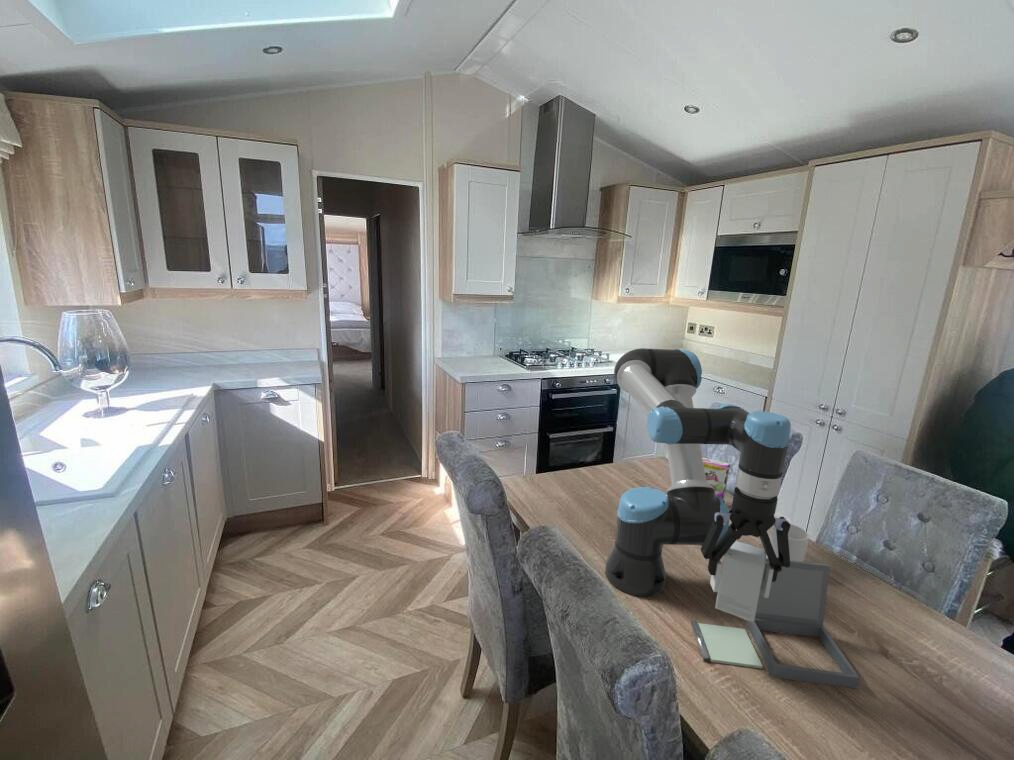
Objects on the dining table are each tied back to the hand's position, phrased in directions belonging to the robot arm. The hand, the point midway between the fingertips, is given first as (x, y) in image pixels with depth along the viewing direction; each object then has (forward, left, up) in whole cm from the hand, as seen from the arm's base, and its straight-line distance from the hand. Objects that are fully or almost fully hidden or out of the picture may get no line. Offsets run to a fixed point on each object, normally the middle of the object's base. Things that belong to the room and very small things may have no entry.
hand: (738, 590), depth 96 cm
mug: (+26, +33, -14) cm, 44 cm away
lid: (+14, +8, -5) cm, 17 cm away
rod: (-6, 0, -14) cm, 15 cm away
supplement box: (0, 0, -4) cm, 4 cm away
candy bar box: (+12, +63, -14) cm, 66 cm away
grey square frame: (+14, 0, -14) cm, 20 cm away
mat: (0, 0, -14) cm, 14 cm away
